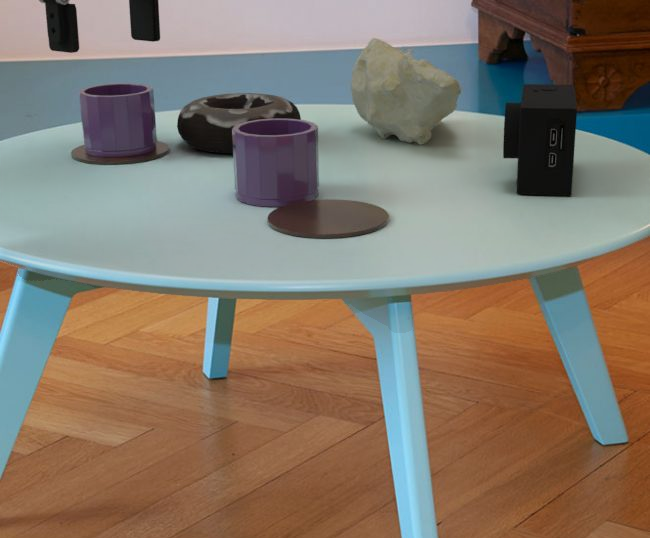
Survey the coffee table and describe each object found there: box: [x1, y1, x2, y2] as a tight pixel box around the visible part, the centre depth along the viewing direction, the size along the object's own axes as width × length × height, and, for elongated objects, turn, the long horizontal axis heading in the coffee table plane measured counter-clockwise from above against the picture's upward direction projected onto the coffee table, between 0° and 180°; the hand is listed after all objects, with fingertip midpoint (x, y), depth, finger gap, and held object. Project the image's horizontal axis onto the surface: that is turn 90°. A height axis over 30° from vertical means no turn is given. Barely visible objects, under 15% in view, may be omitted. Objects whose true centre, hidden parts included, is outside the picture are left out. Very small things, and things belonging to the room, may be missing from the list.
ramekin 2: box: [232, 119, 320, 208], centre depth 90 cm, size 7×7×6 cm
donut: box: [176, 92, 302, 154], centre depth 107 cm, size 12×12×4 cm
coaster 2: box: [267, 198, 390, 239], centre depth 84 cm, size 9×9×1 cm
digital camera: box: [502, 83, 578, 197], centre depth 93 cm, size 10×5×7 cm, turn 170°
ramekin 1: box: [78, 82, 158, 158], centre depth 104 cm, size 7×7×6 cm
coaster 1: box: [70, 140, 170, 165], centre depth 105 cm, size 9×9×1 cm
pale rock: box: [350, 37, 462, 145], centre depth 106 cm, size 18×10×7 cm
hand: (106, 45), depth 101 cm, fingers open, 9 cm apart
